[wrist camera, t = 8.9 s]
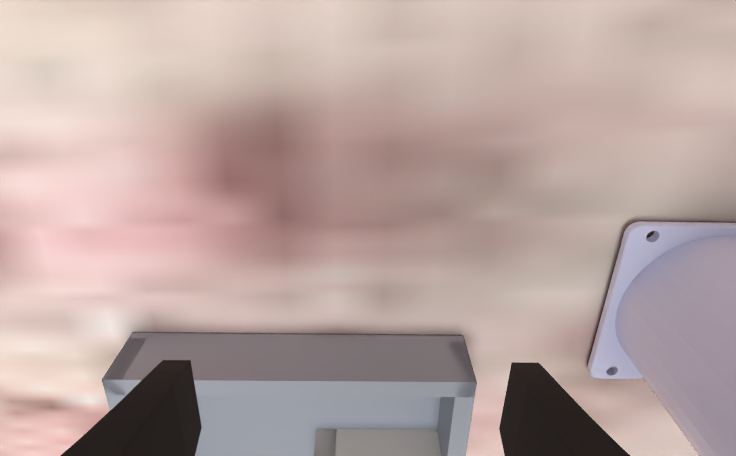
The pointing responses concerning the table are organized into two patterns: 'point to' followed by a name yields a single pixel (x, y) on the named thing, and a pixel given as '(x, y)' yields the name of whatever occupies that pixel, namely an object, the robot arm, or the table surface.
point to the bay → (315, 391)
